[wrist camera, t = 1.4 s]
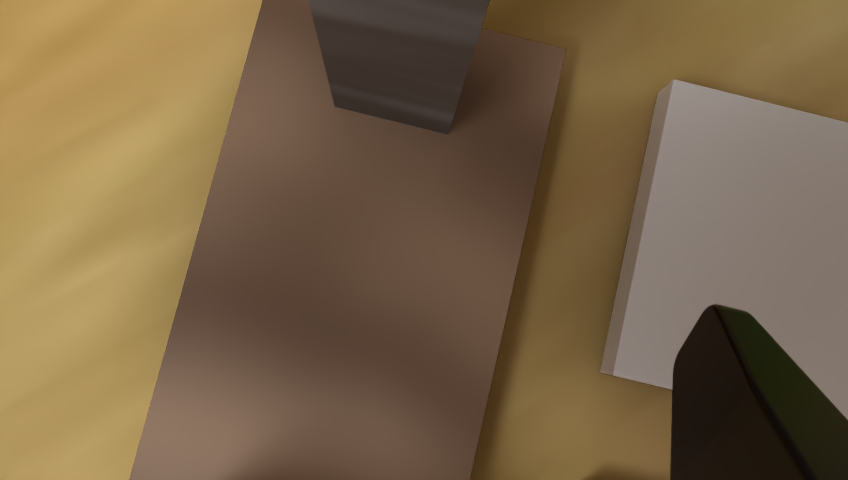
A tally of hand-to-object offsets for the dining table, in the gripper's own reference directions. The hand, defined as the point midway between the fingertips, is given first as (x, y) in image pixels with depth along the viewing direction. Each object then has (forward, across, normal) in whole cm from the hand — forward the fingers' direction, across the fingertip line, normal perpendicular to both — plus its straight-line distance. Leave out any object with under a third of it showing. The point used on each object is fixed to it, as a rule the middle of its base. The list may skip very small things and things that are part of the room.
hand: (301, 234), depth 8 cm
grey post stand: (+7, 0, +10) cm, 12 cm away
